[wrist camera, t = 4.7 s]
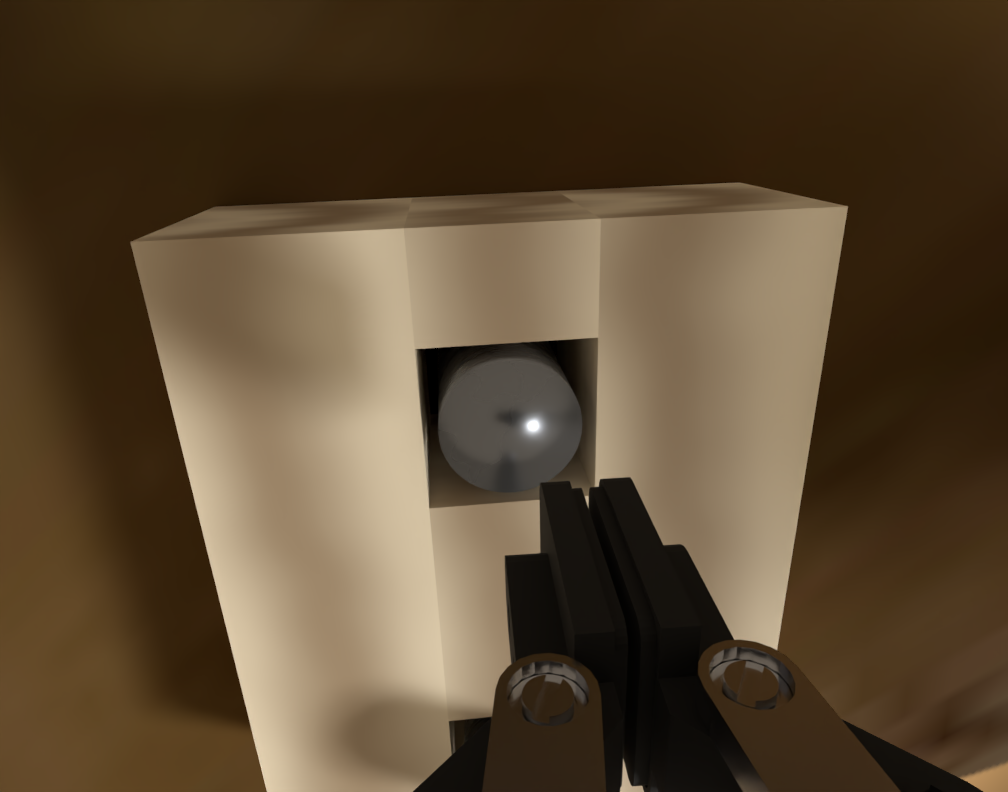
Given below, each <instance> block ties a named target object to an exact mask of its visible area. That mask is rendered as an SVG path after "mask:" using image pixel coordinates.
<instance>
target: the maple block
mask: <svg viewBox="0 0 1008 792" xmlns="http://www.w3.org/2000/svg"><path fill="white" fill-rule="evenodd" d="M847 210H848V206H844V205H839V204H835V203H830V202H826V201H821V200H817V199H812V198H808V197H803V196H799V195H794V194H790V193H785V192H781V191H776V190H772V189H767V188H763V187H758V186H754V185H749V184H744V183H740V182H738V183H717V184H695V185H673V186H652V187H630V188H608V189H587V190H565V191H543V192H522V193H500V194H479V195H457V196H435V197H414V198H392V199H370V200H349V201H327V202H305V203H284V204H262V205H240V206H219V207H213V208H211V209H208V210H206V211H203V212H201V213H199V214H196V215H194V216H191V217H189V218H187V219H184V220H182V221H179V222H177V223H175V224H172V225H170V226H167V227H165V228H163V229H160V230H158V231H155V232H153V233H151V234H148V235H146V236H143V237H141V238H139V239H136V240H134V241H131V242H130V243H131V247H132V251H133V255H134V259H135V263H136V267H137V271H138V275H139V279H140V283H141V287H142V291H143V295H144V299H145V303H146V307H147V311H148V315H149V319H150V323H151V327H152V331H153V335H154V339H155V343H156V347H157V351H158V355H159V359H160V363H161V367H162V371H163V375H164V379H165V383H166V387H167V391H168V395H169V399H170V403H171V407H172V411H173V416H174V420H175V424H176V428H177V432H178V436H179V440H180V444H181V448H182V452H183V456H184V460H185V464H186V468H187V472H188V476H189V480H190V484H191V488H192V492H193V496H194V500H195V504H196V508H197V512H198V516H199V520H200V524H201V528H202V532H203V536H204V540H205V544H206V548H207V552H208V556H209V560H210V564H211V568H212V572H213V576H214V580H215V584H216V588H217V592H218V597H219V601H220V605H221V609H222V613H223V617H224V621H225V625H226V629H227V633H228V637H229V641H230V645H231V649H232V653H233V657H234V661H235V665H236V669H237V673H238V677H239V681H240V685H241V689H242V693H243V697H244V701H245V705H246V709H247V713H248V717H249V721H250V725H251V729H252V733H253V737H254V741H255V745H256V749H257V753H258V757H259V761H260V765H261V769H262V773H263V777H264V782H265V786H266V790H267V792H413V791H414V790H415V789H416V788H417V787H418V786H419V785H420V784H421V783H422V782H424V781H425V780H426V779H427V778H428V777H429V776H430V775H431V774H432V773H433V772H434V771H435V770H436V769H437V768H438V767H440V766H441V765H442V764H443V763H444V762H445V761H446V760H447V759H448V758H449V757H450V756H451V755H452V754H453V753H455V752H456V751H457V750H458V749H459V748H460V747H461V746H462V745H463V744H464V722H465V720H466V719H475V718H485V717H492V712H493V704H494V696H495V689H496V686H497V683H498V680H499V677H500V676H501V674H502V673H503V672H504V671H505V670H506V668H507V667H508V666H509V665H511V656H510V645H509V634H508V621H507V605H506V584H505V555H520V554H536V553H540V499H539V487H540V486H537V487H535V488H532V489H529V490H525V491H520V492H509V493H503V492H494V491H489V490H485V489H482V488H479V487H477V486H475V485H473V484H471V483H469V482H468V481H466V480H464V479H463V478H462V477H461V476H459V475H458V474H457V473H456V472H455V471H454V470H453V468H452V467H451V466H450V465H449V463H448V462H447V460H446V458H445V456H444V454H443V452H442V449H441V446H440V442H439V435H438V414H431V413H430V401H429V389H428V378H427V366H426V354H425V348H441V347H457V346H473V345H489V344H505V343H521V342H536V341H552V340H557V360H558V362H559V364H560V366H561V368H562V370H563V372H564V374H565V376H566V378H567V380H568V382H569V384H570V386H571V388H572V390H573V392H574V394H575V396H576V398H577V400H578V403H579V406H580V409H581V414H582V434H581V439H580V442H579V445H578V448H577V450H576V452H575V454H574V456H573V457H572V459H571V460H570V462H569V463H568V464H567V466H566V467H565V468H564V469H563V470H562V471H561V472H560V473H559V474H557V475H556V476H555V477H554V478H552V479H551V480H549V481H548V482H558V481H570V483H571V486H572V488H582V490H583V493H584V496H585V499H586V502H587V505H588V508H589V488H590V487H599V482H600V479H607V478H624V477H631V479H632V480H633V483H634V485H635V487H636V489H637V491H638V493H639V495H640V497H641V499H642V501H643V503H644V506H645V508H646V510H647V512H648V514H649V516H650V518H651V520H652V522H653V524H654V527H655V529H656V531H657V533H658V535H659V537H660V539H661V541H662V543H663V545H675V544H681V545H683V546H684V547H685V548H686V549H687V551H688V553H689V555H690V557H691V558H692V560H693V562H694V564H695V566H696V568H697V570H698V572H699V574H700V576H701V577H702V579H703V581H704V583H705V585H706V587H707V589H708V591H709V593H710V595H711V596H712V598H713V600H714V602H715V604H716V606H717V608H718V610H719V612H720V614H721V615H722V617H723V619H724V621H725V623H726V625H727V627H728V629H729V631H730V633H731V634H732V636H733V638H734V640H740V639H741V640H747V641H754V642H758V643H761V644H764V645H766V646H769V647H772V648H774V649H775V650H777V646H778V640H779V634H780V627H781V621H782V615H783V609H784V602H785V596H786V590H787V584H788V578H789V571H790V565H791V559H792V553H793V546H794V540H795V534H796V528H797V521H798V515H799V509H800V503H801V496H802V490H803V484H804V478H805V472H806V465H807V459H808V453H809V447H810V440H811V434H812V428H813V422H814V415H815V409H816V403H817V397H818V390H819V384H820V378H821V372H822V366H823V359H824V353H825V347H826V341H827V334H828V328H829V322H830V316H831V309H832V303H833V297H834V291H835V284H836V278H837V272H838V266H839V260H840V253H841V247H842V241H843V235H844V228H845V222H846V216H847ZM620 792H644V790H643V786H631V784H630V782H629V778H628V775H627V771H626V767H625V763H624V759H623V774H622V786H621V787H620Z"/></svg>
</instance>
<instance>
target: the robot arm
mask: <svg viewBox="0 0 1008 792" xmlns="http://www.w3.org/2000/svg"><path fill="white" fill-rule="evenodd" d="M539 499H540V553H536V554H520V555H505V584H506V605H507V621H508V634H509V645H510V656H511V665H509V666H508V667H507V668H506V670H505V671H504V672H503V673H502V674H501V676H500V677H499V680H498V683H497V686H496V689H495V696H494V704H493V712H492V718H491V719H490V720H489V721H488V722H487V723H485V724H484V725H483V726H482V727H481V728H480V729H479V730H478V731H477V732H476V733H475V734H474V735H473V736H472V737H471V738H469V739H468V740H467V741H466V742H465V743H464V744H463V745H462V746H461V747H460V748H459V749H458V750H457V751H456V752H455V753H453V754H452V755H451V756H450V757H449V758H448V759H447V760H446V761H445V762H444V763H443V764H442V765H441V766H440V767H438V768H437V769H436V770H435V771H434V772H433V773H432V774H431V775H430V776H429V777H428V778H427V779H426V780H425V781H424V782H422V783H421V784H420V785H419V786H418V787H417V788H416V789H415V790H414V791H413V792H620V787H621V786H622V774H623V759H624V763H625V767H626V771H627V775H628V778H629V782H630V784H631V786H643V790H644V792H983V791H981V790H979V789H978V788H976V787H975V786H973V785H971V784H970V783H968V782H966V781H964V780H962V779H960V778H958V777H956V776H954V775H952V774H950V773H948V772H946V771H944V770H942V769H940V768H938V767H936V766H934V765H932V764H930V763H928V762H926V761H924V760H922V759H920V758H918V757H916V756H914V755H912V754H910V753H908V752H906V751H904V750H902V749H900V748H898V747H896V746H894V745H892V744H890V743H888V742H886V741H884V740H882V739H880V738H878V737H876V736H874V735H872V734H870V733H868V732H866V731H864V730H862V729H860V728H858V727H856V726H854V725H852V724H850V723H848V722H846V721H844V720H842V719H841V718H840V717H839V716H838V715H837V713H836V712H835V711H834V710H833V709H832V707H831V706H830V705H829V704H828V703H827V701H826V700H825V699H824V698H823V696H822V695H821V694H820V693H819V692H818V690H817V689H816V688H815V687H814V686H813V684H812V683H811V682H810V681H809V680H808V678H807V677H806V676H805V675H804V673H803V672H802V671H801V670H800V669H799V667H798V666H797V665H795V664H794V663H793V662H792V661H791V660H790V659H789V658H788V657H787V656H785V655H784V654H782V653H780V652H779V651H777V650H775V649H774V648H772V647H769V646H766V645H764V644H761V643H758V642H754V641H747V640H741V639H740V640H734V638H733V636H732V634H731V633H730V631H729V629H728V627H727V625H726V623H725V621H724V619H723V617H722V615H721V614H720V612H719V610H718V608H717V606H716V604H715V602H714V600H713V598H712V596H711V595H710V593H709V591H708V589H707V587H706V585H705V583H704V581H703V579H702V577H701V576H700V574H699V572H698V570H697V568H696V566H695V564H694V562H693V560H692V558H691V557H690V555H689V553H688V551H687V549H686V548H685V547H684V546H683V545H681V544H675V545H663V543H662V541H661V539H660V537H659V535H658V533H657V531H656V529H655V527H654V524H653V522H652V520H651V518H650V516H649V514H648V512H647V510H646V508H645V506H644V503H643V501H642V499H641V497H640V495H639V493H638V491H637V489H636V487H635V485H634V483H633V480H632V479H631V477H624V478H607V479H600V482H599V487H590V488H589V508H588V505H587V502H586V499H585V496H584V493H583V490H582V488H572V486H571V483H570V481H558V482H541V483H540V487H539Z"/></svg>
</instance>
